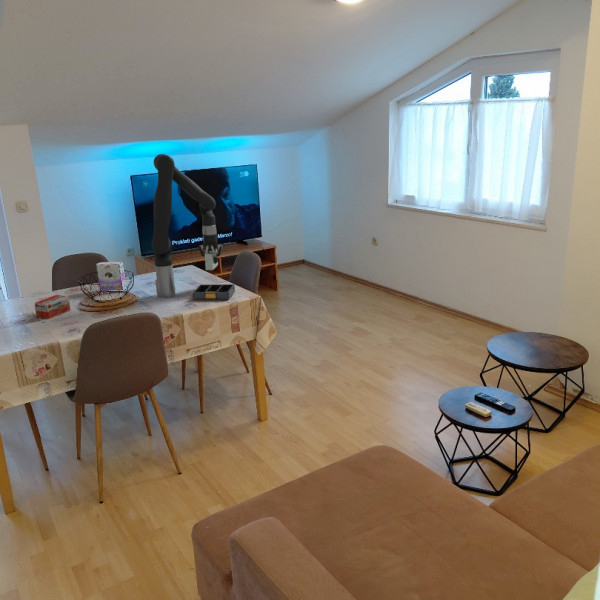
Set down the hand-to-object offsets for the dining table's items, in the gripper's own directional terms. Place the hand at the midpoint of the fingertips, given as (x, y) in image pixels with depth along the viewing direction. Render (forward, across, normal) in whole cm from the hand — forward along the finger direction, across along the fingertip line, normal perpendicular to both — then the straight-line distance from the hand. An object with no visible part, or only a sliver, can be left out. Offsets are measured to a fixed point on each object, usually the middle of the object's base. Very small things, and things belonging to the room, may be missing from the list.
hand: (211, 263), depth 324 cm
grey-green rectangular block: (+2, 0, 0) cm, 2 cm away
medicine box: (+16, -72, -44) cm, 86 cm away
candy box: (+16, -58, -4) cm, 60 cm away
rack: (+14, +4, -16) cm, 22 cm away
